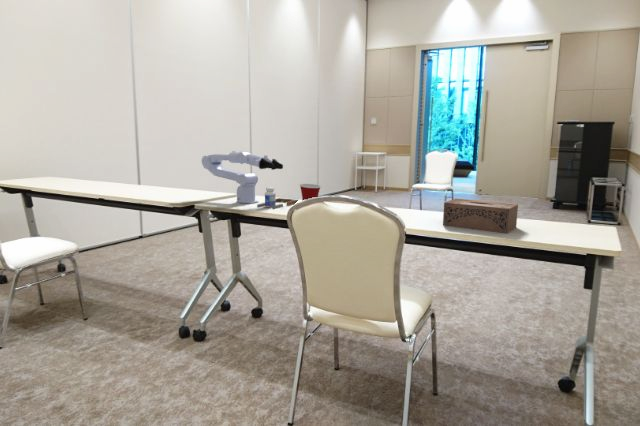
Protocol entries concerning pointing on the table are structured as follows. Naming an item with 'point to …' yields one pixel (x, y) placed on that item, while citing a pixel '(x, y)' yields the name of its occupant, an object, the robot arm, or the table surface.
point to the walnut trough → (289, 201)
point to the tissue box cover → (480, 215)
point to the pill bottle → (270, 197)
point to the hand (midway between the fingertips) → (277, 166)
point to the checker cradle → (273, 206)
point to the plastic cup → (309, 190)
